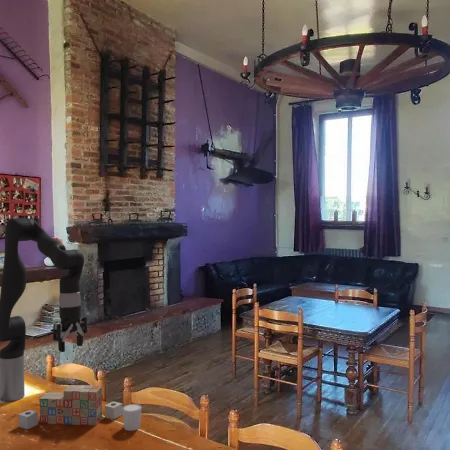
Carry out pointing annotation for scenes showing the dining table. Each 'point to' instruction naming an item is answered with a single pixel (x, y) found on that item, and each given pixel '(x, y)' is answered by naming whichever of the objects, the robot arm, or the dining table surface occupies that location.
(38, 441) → the dining table surface
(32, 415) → the grey marked cube
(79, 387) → the stack of blocks
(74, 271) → the robot arm
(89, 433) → the dining table surface
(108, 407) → the ivory marked cube
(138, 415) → the shot glass
